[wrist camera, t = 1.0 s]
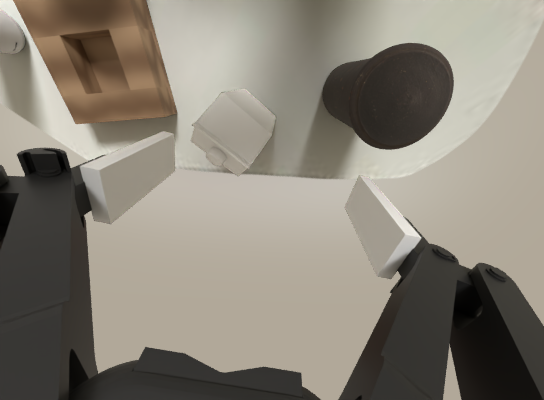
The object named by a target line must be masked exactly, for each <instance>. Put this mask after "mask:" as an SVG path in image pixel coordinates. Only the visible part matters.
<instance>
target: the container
mask: <svg viewBox="0 0 544 400" xmlns="http://www.w3.org/2000/svg"><path fill="white" fill-rule="evenodd" d="M453 86H454V80H453V73H452V69H451V66H450V64H449V62H448V61H447V59H446V58H445V57H444V56H443V55H442V53H440V52H439V51H438V50H436V49H434V48H432V47H430V46H427V45H424V44H419V43H405V44H399V45H395V46H392V47H389V48H387V49H385V50H383V51H381V52H379V53H378V54H376V55H375V56H374V57H372V58H370V59H365V60H360V61H355V62H349V63H345V64H342V65H340V66H339V67H337V68H336V69H334V70H333V71H332V72H331V73H330V75H329V76H328V78H327V80H326V82H325V84H324V88H323V101H324V104H325V107H326V109H327V110H328V112H329V113H330V114H331V115H332V116H334V117H335V118H337V119H338V120H340V121H342V122H343V123H345V124H347V125H348V126H350V127H351V128H353V129H354V130H355V132H356V133H357V135H358V136H359V137H360V138H361V139H362V140H363V141H364V142H365V143H367V144H369V145H370V146H372V147H375V148H379V149H387V150H391V149H399V148H403V147H406V146H409V145H411V144H413V143H415V142H417V141H419V140H420V139H422V138H423V137H424V136H426V135H427V134H428V133H429V132H430V131H431V130H432V129H433V128H434V127H435V126H436V125H437V124H438V123H439V121H440V120H441V119H442V117H443V116H444V114H445V112H446V110H447V108H448V106H449V103H450V101H451V97H452V93H453Z"/></svg>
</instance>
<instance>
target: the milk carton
mask: <svg viewBox="0 0 544 400" xmlns="http://www.w3.org/2000/svg"><path fill="white" fill-rule="evenodd" d="M275 120H276V116H275V115H274V114H273V113H272V112H270V111H269V110H268V109H267V108H266V107H265V106H264V105H263V104H262V103H261V102H259V101H258V100H257V99H256V98H255V97H254V96H253V95H252V94H251V93H249V92H248V91H247V90H246V89H240V90H233V91H227V92H221V94H220V95H219V96H218V97H217V98H216V99H215V101H214V102H213V103H212V104H211V105H210V106H209V108H208V109H207V110H206V111H205V112H204V113H203V115H202V116H201V117H200V118H199V119H198V120H197V122H195V123H193V124H192V126H194V131H193V135H192V138H191V141H192V142H193V143H194V144H195V145H197V146H198V147H199V148H200V149H202V150H203V151H204V152H206V157H207V159H208V160H209V161H210V162H211V163H212V164H214V165H216V166H222V165H223V166H224V167H226V168H227V169H228V170H230V171H231V172H232V173H234V174H235V175H237V176H239V175H241V174H242V173H243V172H244V171H245V170H246V169H249V168H250V166H251V164H252V163H253V162H254V160H255V159H256V157H257V156H258V155H259V153H260V152H261V150H262V149H263V147H264V146H265V145H266V143H267V142H268V140H269V139H270V138H271V136H272V132H273V128H274V124H275Z"/></svg>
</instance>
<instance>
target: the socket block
mask: <svg viewBox="0 0 544 400" xmlns="http://www.w3.org/2000/svg"><path fill="white" fill-rule="evenodd" d="M13 1H14V3H15V5H16V7H17V9H18V11H19V13H20V15H21V17H22V19H23V21H24V23H25V25H26V27H27V29H28V31H29V32H30V34H31V36H32V38H33V40H34V42H35V44H36V46H37V48H38V50H39V52H40V54H41V56H42V58H43V60H44V62H45V64H46V66H47V68H48V70H49V72H50V74H51V76H52V78H53V80H54V82H55V84H56V86H57V88H58V90H59V92H60V94H61V96H62V98H63V100H64V102H65V104H66V106H67V107H68V109H69V111H70V113H71V115H72V117H73V119H74V121H75V123H76V124H85V123H97V122H109V121H121V120H133V119H145V118H157V117H166V116H170V115H173V114H177V110H176V106H175V103H174V99H173V95H172V92H171V88H170V85H169V81H168V77H167V74H166V70H165V67H164V63H163V59H162V56H161V52H160V49H159V45H158V41H157V38H156V34H155V31H154V27H153V23H152V20H151V16H150V13H149V9H148V5H147V2H146V0H13Z"/></svg>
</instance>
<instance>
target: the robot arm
mask: <svg viewBox="0 0 544 400" xmlns="http://www.w3.org/2000/svg"><path fill="white" fill-rule="evenodd" d="M17 156H18V159H19V161H20V163H21V166H22V168H23V171H24V173H25V177H20V176H7V174H6V172H5V170H4V168H3V166H2V165H0V400H320V399H319V398H318V397H317V396H316V395H315V394H313V393H311V392H310V391H309V390H308V389H306V388H304V387H302V379H301V373H298V372H293V371H287V370H281V369H275V368H268V367H259V368H254V369H247V370H240V371H234V372H227V373H222V372H219V371H217V370H215V369H213V368H211V367H209V366H207V365H205V364H203V363H202V362H200V361H198V360H196V359H194V358H192V357H190V356H188V355H186V354H184V353H177V352H172V351H166V350H160V349H154V348H148V347H145V349H144V351H143V353H142V354H141V356H140V358H139V360H135V361H130V362H126V363H123V364H119V365H117V366H114V367H112V368H109V369H107V370H105V371H103V372H101V373H99V374H98V371H97V366H96V361H95V353H94V338H93V323H92V308H91V293H90V277H89V262H88V246H87V231H86V220H85V217H84V215H85V214H86V213H88V212H89V211H92V215H93V219H94V221H98V222H103V223H108V224H112V223H113V222H114V221H115V220H116V219H117V218H119V217H120V216H121V215H122V214H124V213H125V212H126V211H127V210H128V209H130V208H131V207H132V206H133V205H135V204H136V203H137V202H138V201H139V200H141V199H142V198H143V197H144V196H145V195H147V194H148V193H149V192H150V191H151V190H153V189H154V188H155V187H156V186H157V185H159V184H160V183H161V182H162V181H164V180H165V179H166V178H167V177H168V176H170V175H171V174H172V173H173V172H174V171H175V144H174V134H173V133H169V132H164V131H162V132H160V133H157V134H155V135H153V136H150V137H148V138H146V139H143V140H141V141H138V142H136V143H134V144H131V145H129V146H126V147H124V148H122V149H119V150H117V151H115V152H112V153H110V154H107V155H102V156H100V157H97V158H95V160H94V159H92V160H90V161H88V162H85V163H83V164H80V165H78V166H76V167H73V168H70V165H69V161H68V158H67V155H66V152H65V151H63V150H60V149H55V148H34V149H28V150H24V151H21V152H19V153H18V154H17ZM345 209H346V211H347V213H348V216H349V217H350V220H351V222H352V224H353V226H354V228H355V231H356V233H357V235H358V237H359V239H360V241H361V243H362V246H363V248H364V250H365V252H366V254H367V256H368V258H369V261H370V262H371V265H372V267H373V269H374V271H375V273H376V276H378V277H383V278H388V279H392V277H393V276H394V275H395V273H396V272H397V271H398V272H399V274H400V275H401V278H400V280H399V281H398V282H397V284H396V285H395V286H394V287H393V289H392V290H391V292H390V293H392V294H391V296H390V298H389V300H388V302H387V304H386V306H385V308H384V310H383V312H382V314H381V316H380V318H379V320H378V322H377V324H376V326H375V328H374V330H373V332H372V334H371V336H370V338H369V340H368V342H367V344H366V346H365V348H364V350H363V352H362V354H361V356H360V358H359V360H358V362H357V364H356V366H355V368H354V370H353V372H352V374H351V376H350V378H349V380H348V382H347V385H346V386H345V388H344V390H343V392H342V394H341V396H340V398H339V399H338V400H443V394H444V384H445V377H446V376H445V375H446V368H447V360H448V350H449V343H450V348H451V352H452V357H453V361H454V366H455V371H456V376H457V381H458V385H459V389H460V395H461V399H462V400H544V326H543V324H542V323H541V321H540V320H539V318H538V317H537V315H536V314H535V312H534V311H533V309H532V308H531V306H530V305H529V303H528V302H527V300H526V299H525V297H524V296H523V294H522V293H521V291H520V290H519V288H518V287H517V285H516V283H515V282H514V281H513V280H512V279H511V278H510V277H509V276H507V275H506V273H505V272H503V271H501V270H499V269H498V268H494V267H493V266H491V265H488V264H485V263H478V264H477V265H476V266H475V267H474V268H473V269H469V268H466V267H464V266H461V265H459V262H458V260H457V258H456V257H455V256H454V255H453V254H451V253H450V252H449V251H447V250H445V249H444V248H442V247H440V246H437V245H434V244H429V243H428V242H427V241H426V239H425V238H424V237H423V236H422V235H421V234H420V233H419V232H418V231H417V229H416V228H415V227H413V225H412V223H411V222H410V221H409V220H408V219H406V218H405V217H404V216H402V215H401V213H400V212H399V211H398V210H397V209H396V208H395V206H394V205H393V204H392V203H391V202H390V201H389V200H388V199H387V197H386V196H385V195H384V194H383V193H382V192H381V190H380V189H379V188H378V187H377V186H376V184H375V183H374V182H373V181H372V180H371V179H370V177H365V176H361V175H359V177H358V179H357V181H356V184H355V186H354V188H353V190H352V192H351V194H350V197H349V199H348V201H347V203H346V205H345Z"/></svg>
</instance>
